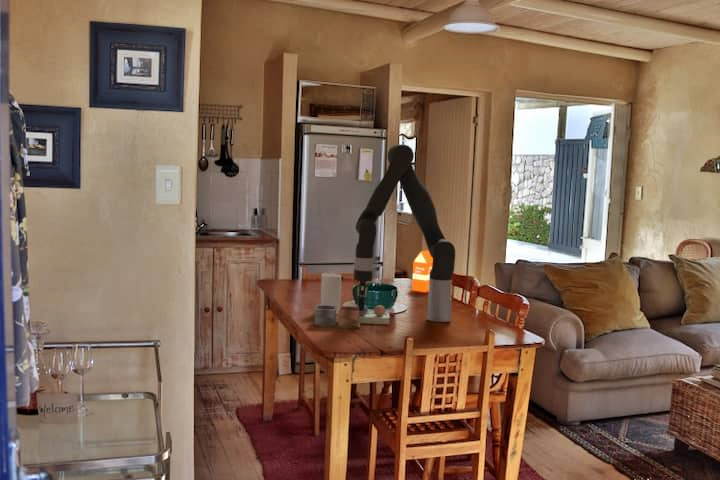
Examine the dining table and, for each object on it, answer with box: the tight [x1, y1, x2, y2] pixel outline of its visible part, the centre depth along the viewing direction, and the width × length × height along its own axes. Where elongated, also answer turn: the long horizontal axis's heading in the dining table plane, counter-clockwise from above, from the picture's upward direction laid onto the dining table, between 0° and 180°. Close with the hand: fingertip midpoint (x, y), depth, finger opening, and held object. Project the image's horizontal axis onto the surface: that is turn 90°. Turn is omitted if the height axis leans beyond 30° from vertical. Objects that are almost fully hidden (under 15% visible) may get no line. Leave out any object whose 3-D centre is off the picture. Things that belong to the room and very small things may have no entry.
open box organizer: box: [312, 304, 361, 330], centre depth 269 cm, size 18×9×7 cm, turn 89°
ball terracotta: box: [373, 304, 386, 317], centre depth 278 cm, size 4×4×4 cm
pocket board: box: [359, 311, 390, 325], centre depth 278 cm, size 15×10×2 cm, turn 89°
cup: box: [320, 272, 342, 315], centre depth 290 cm, size 8×8×16 cm
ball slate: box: [357, 304, 369, 316], centre depth 278 cm, size 4×4×4 cm
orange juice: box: [411, 250, 433, 293], centre depth 348 cm, size 8×9×20 cm
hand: (361, 308), depth 278 cm, fingers open, 8 cm apart
